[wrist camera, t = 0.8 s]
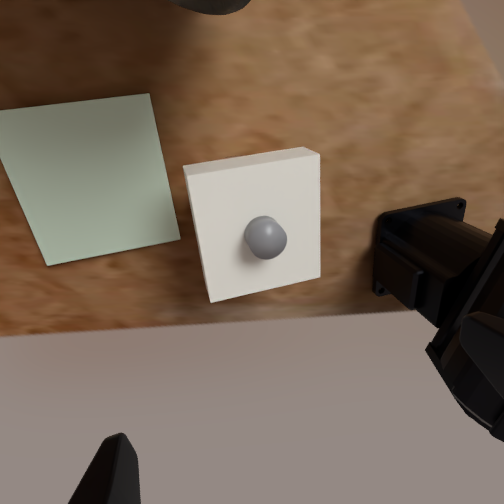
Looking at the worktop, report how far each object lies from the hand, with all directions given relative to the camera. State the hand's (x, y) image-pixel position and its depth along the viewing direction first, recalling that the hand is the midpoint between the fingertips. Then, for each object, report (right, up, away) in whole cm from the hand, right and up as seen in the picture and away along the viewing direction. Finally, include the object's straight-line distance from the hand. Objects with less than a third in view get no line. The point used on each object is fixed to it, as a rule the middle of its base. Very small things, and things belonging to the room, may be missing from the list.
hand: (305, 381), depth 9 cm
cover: (-1, +5, +8) cm, 9 cm away
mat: (-9, +7, +9) cm, 14 cm away
